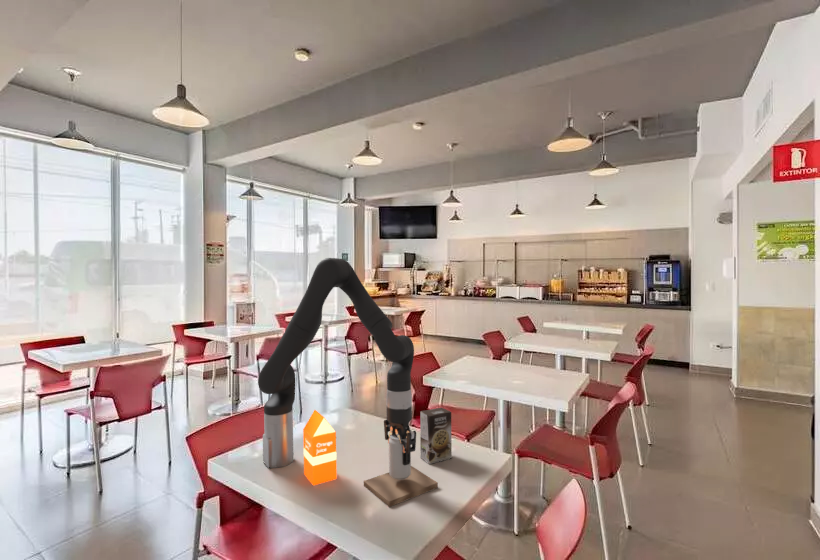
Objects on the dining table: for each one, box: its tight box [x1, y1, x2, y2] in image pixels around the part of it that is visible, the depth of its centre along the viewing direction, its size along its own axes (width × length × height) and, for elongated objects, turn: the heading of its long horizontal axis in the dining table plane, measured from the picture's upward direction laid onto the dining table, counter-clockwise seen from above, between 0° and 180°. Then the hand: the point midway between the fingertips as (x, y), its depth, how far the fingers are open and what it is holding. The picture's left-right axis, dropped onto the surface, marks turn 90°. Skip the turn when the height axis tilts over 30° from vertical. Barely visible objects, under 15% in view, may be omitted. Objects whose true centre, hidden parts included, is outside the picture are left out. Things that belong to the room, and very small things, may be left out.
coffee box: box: [419, 407, 453, 465], centre depth 142 cm, size 9×6×16 cm
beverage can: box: [388, 435, 412, 480], centre depth 123 cm, size 6×6×12 cm
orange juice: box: [302, 409, 338, 486], centre depth 130 cm, size 8×9×20 cm
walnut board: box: [363, 465, 439, 508], centre depth 123 cm, size 17×14×2 cm
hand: (399, 459), depth 123 cm, fingers closed on beverage can, 6 cm apart
